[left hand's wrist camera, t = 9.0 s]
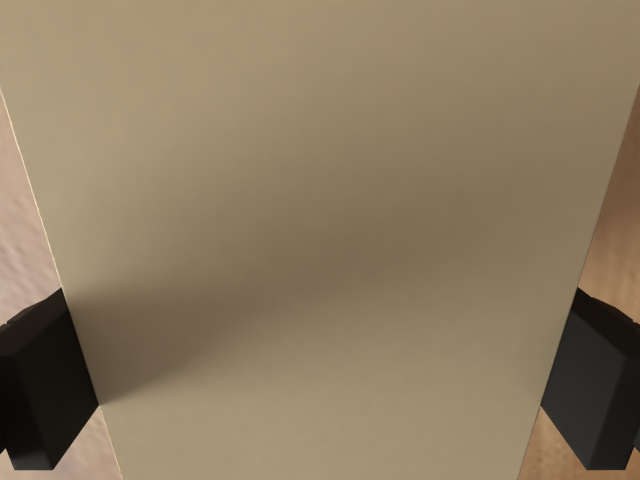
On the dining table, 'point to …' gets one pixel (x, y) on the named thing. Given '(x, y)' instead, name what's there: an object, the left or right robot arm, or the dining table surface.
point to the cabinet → (319, 219)
